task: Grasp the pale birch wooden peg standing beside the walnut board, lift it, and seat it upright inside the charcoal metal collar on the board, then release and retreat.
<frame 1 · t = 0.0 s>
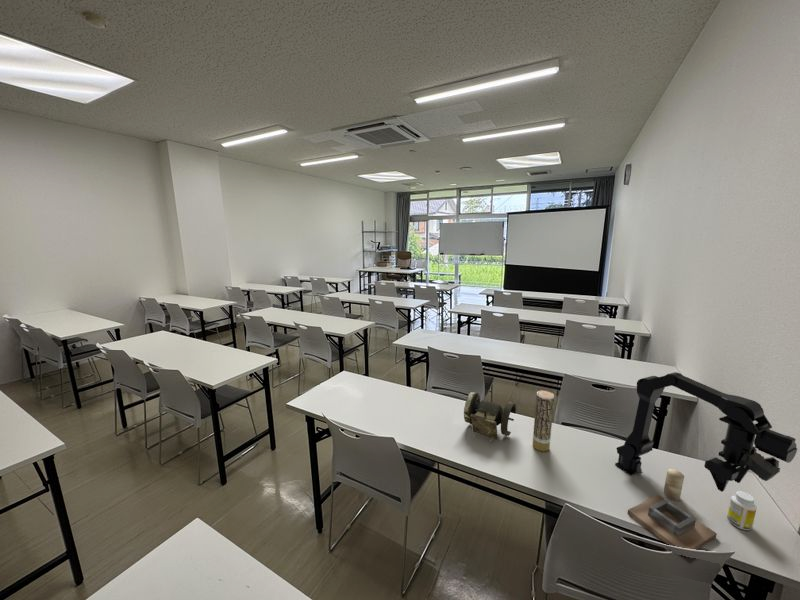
hand: (728, 486, 98), 15 cm above the table, fingers open, 9 cm apart
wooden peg: (671, 495, 113), on the table
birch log: (540, 447, 140), on the table
collar socket: (669, 525, 102), on the table
supplement bottle: (738, 524, 102), on the table
bench grinder: (486, 432, 151), on the table
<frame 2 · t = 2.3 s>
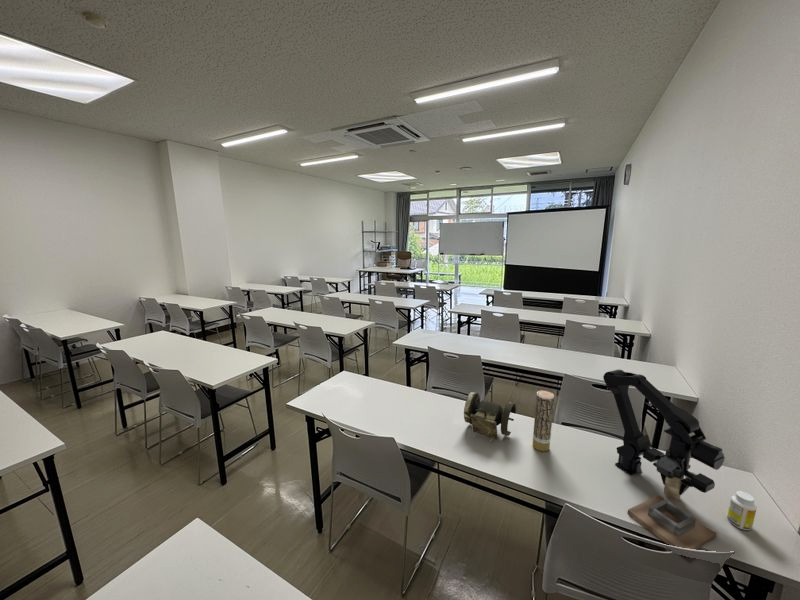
hand: (672, 489, 113), 3 cm above the table, fingers closed on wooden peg, 4 cm apart
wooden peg: (671, 495, 113), on the table, touching gripper
everything else where it was.
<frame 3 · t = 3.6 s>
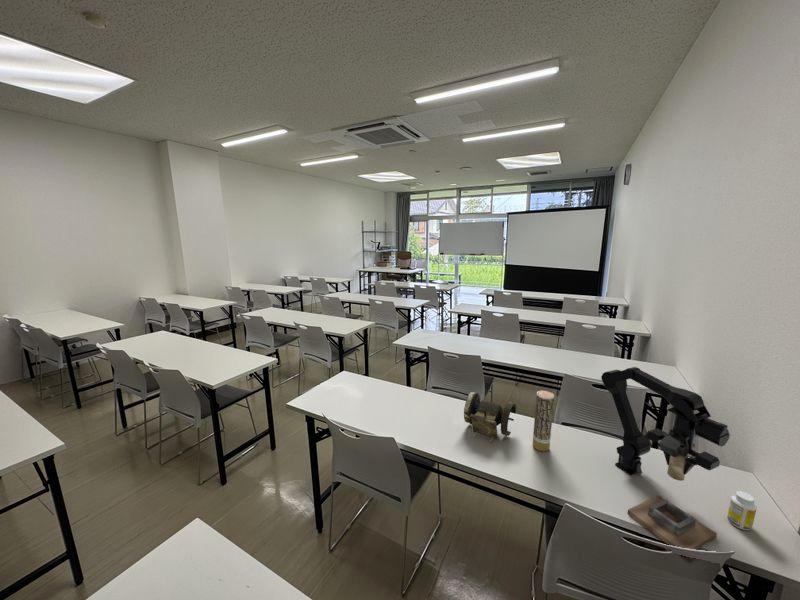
hand: (676, 469, 111), 11 cm above the table, fingers closed on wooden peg, 4 cm apart
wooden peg: (675, 475, 112), point 8 cm above the table, touching gripper
everything else where it was.
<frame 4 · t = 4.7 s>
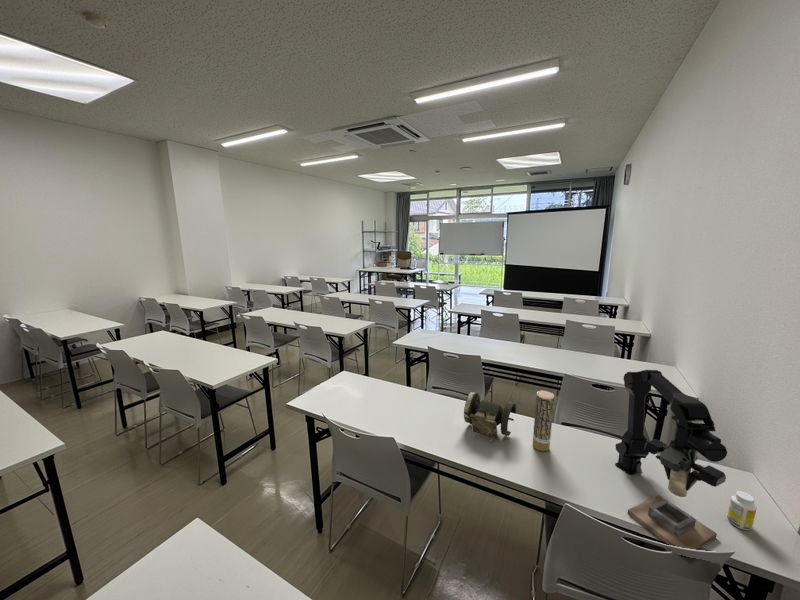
hand: (678, 484, 101), 13 cm above the table, fingers closed on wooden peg, 4 cm apart
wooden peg: (677, 491, 102), point 10 cm above the table, touching gripper
everything else where it was.
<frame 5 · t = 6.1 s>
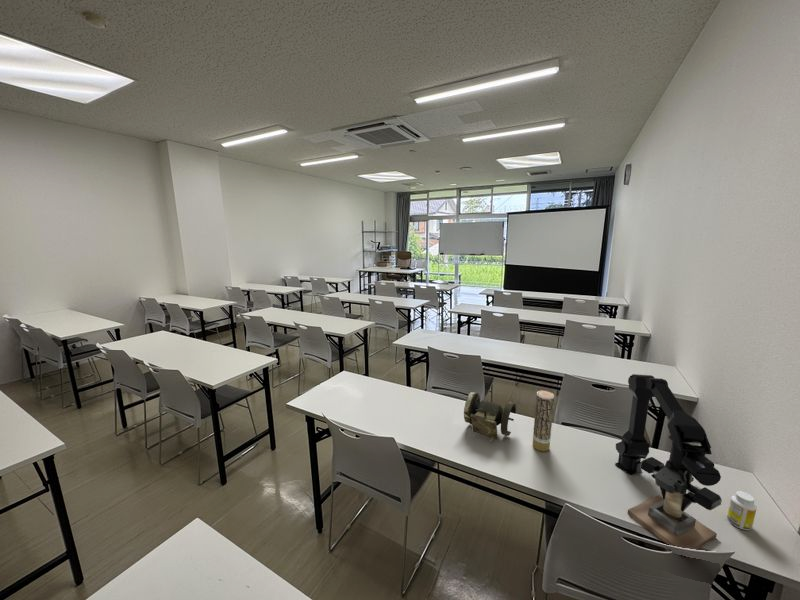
hand: (673, 504, 100), 8 cm above the table, fingers closed on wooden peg, 4 cm apart
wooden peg: (672, 511, 101), point 5 cm above the table, touching gripper
everything else where it was.
when the fingers open (5 cm above the table, at t = 7.0 s): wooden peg drops 1 cm, resting on collar socket.
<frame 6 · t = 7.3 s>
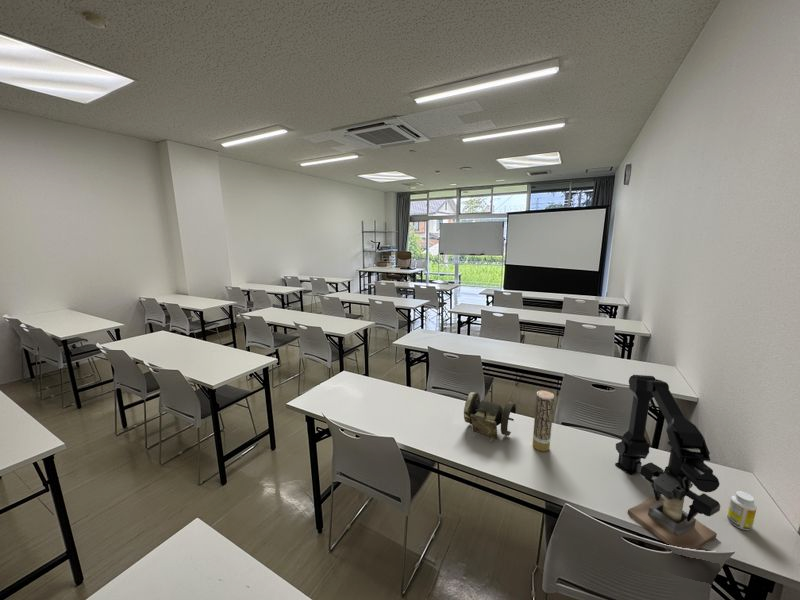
hand: (672, 510, 101), 5 cm above the table, fingers open, 8 cm apart
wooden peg: (670, 520, 101), point 2 cm above the table, touching collar socket
everything else where it was.
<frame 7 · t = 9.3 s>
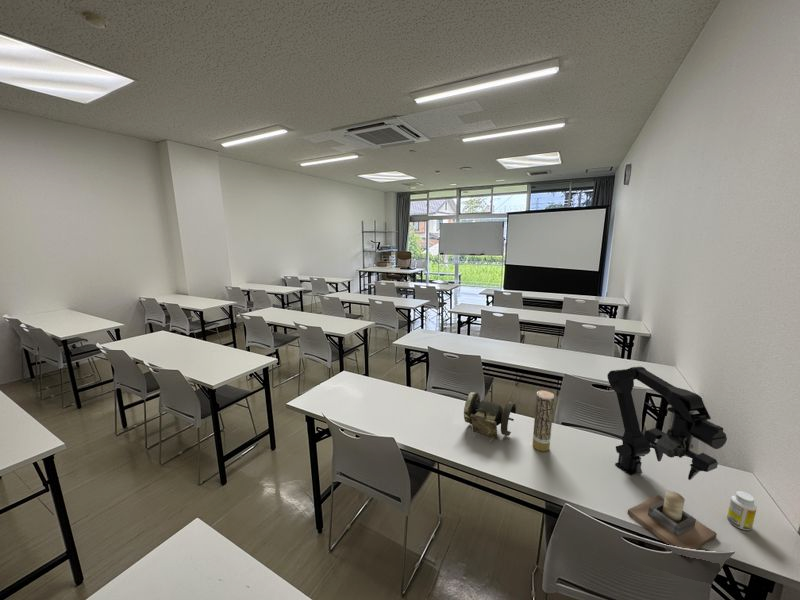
hand: (673, 469, 109), 12 cm above the table, fingers open, 9 cm apart
nothing on the table moved.
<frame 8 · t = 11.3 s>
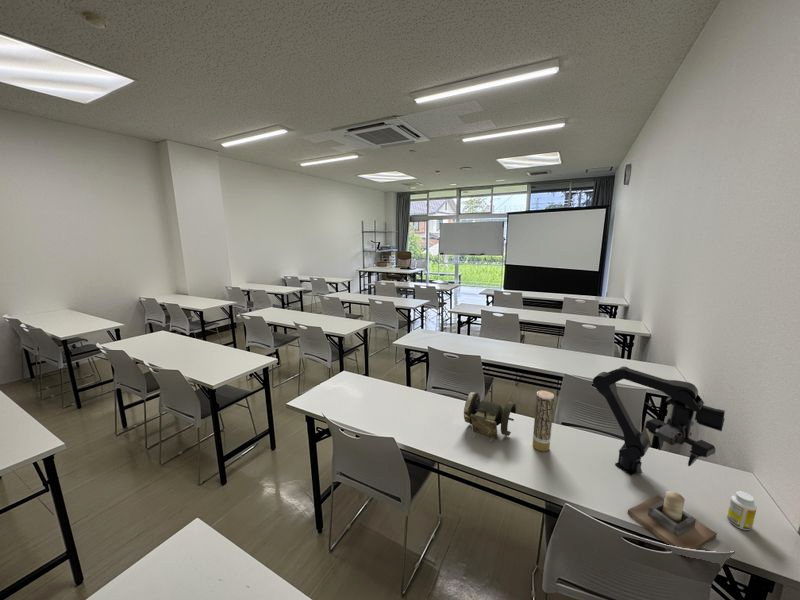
hand: (674, 457, 115), 12 cm above the table, fingers open, 9 cm apart
nothing on the table moved.
at the end: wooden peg 0.1 cm off-centre on the collar socket, point 1.5 cm above the collar socket's base; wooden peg tilted 0°; the gripper is holding nothing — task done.
